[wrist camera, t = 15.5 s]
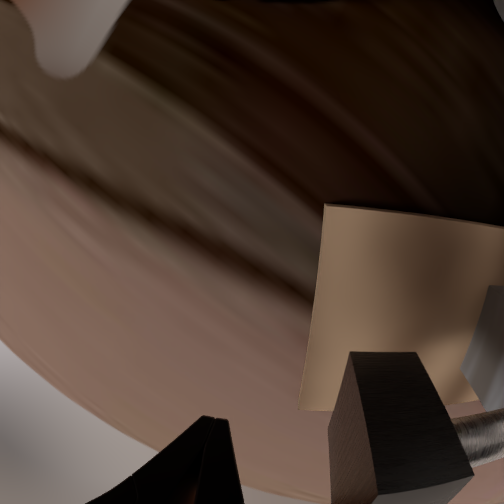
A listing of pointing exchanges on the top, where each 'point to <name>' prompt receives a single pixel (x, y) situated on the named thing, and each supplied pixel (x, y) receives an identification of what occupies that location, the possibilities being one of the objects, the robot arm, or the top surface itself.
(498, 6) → the lotion bottle
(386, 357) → the shaft
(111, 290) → the top surface
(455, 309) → the shaft stand
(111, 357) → the top surface
